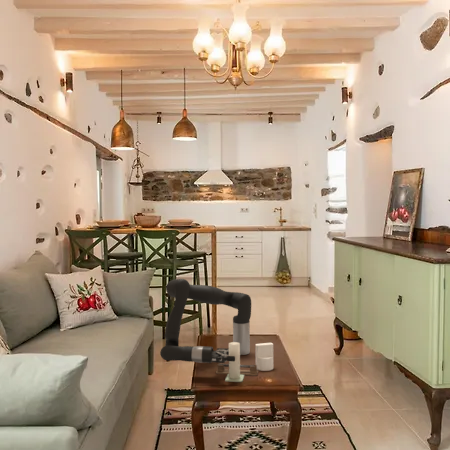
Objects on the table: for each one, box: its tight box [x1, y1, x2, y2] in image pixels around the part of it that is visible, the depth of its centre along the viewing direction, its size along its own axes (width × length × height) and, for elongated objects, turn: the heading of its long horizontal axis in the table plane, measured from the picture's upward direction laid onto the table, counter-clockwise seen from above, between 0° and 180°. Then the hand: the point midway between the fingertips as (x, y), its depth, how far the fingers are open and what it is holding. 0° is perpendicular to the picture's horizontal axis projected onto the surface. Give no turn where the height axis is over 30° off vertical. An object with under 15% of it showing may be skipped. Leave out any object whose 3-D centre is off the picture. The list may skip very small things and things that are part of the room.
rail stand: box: [215, 363, 259, 377], centre depth 224 cm, size 5×20×4 cm, turn 81°
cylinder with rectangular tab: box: [254, 342, 274, 372], centre depth 231 cm, size 9×9×12 cm
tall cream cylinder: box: [228, 341, 241, 379], centre depth 217 cm, size 5×5×16 cm
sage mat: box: [224, 374, 245, 383], centre depth 217 cm, size 8×8×1 cm
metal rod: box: [219, 363, 255, 369], centre depth 224 cm, size 1×18×1 cm, turn 81°
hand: (236, 355), depth 217 cm, fingers open, 8 cm apart
